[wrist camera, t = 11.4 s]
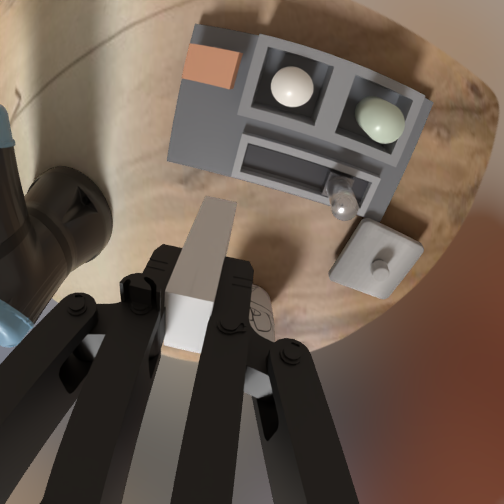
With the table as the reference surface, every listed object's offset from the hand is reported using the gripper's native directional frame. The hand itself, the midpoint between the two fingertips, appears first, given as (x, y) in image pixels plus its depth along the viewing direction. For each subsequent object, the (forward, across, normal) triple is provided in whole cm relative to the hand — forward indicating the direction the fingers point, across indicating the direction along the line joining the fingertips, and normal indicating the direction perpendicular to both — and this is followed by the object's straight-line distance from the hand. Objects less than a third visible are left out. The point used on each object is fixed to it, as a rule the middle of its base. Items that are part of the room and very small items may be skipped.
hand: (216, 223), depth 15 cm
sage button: (+16, +11, +5) cm, 20 cm away
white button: (+19, +3, +6) cm, 20 cm away
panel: (+21, +5, +2) cm, 22 cm away
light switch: (+21, +19, -12) cm, 31 cm away
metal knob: (+20, +11, -4) cm, 22 cm away
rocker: (+17, -4, +6) cm, 19 cm away
